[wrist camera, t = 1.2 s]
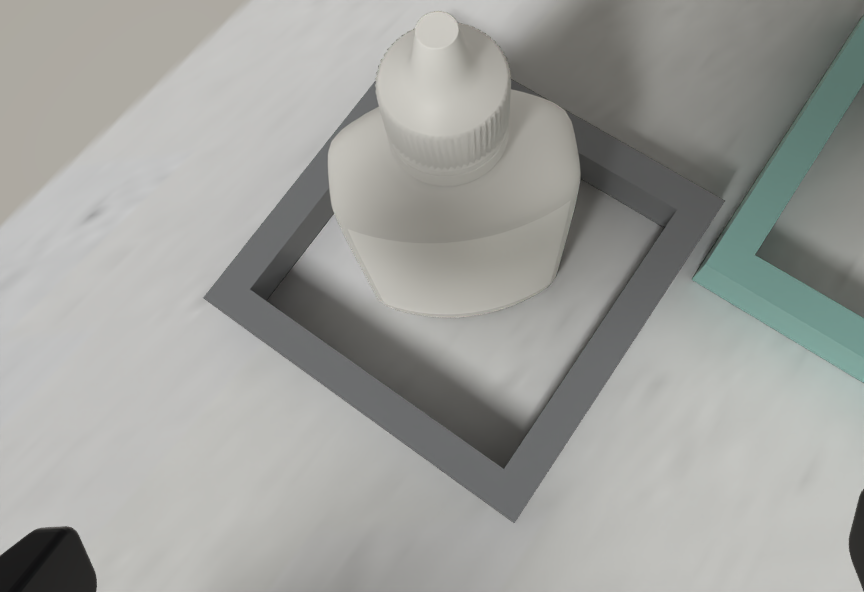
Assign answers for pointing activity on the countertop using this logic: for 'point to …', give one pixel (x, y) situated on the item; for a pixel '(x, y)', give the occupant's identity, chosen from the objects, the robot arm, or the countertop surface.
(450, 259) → the eye dropper bottle
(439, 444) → the upper socket
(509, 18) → the countertop surface
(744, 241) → the lower socket
